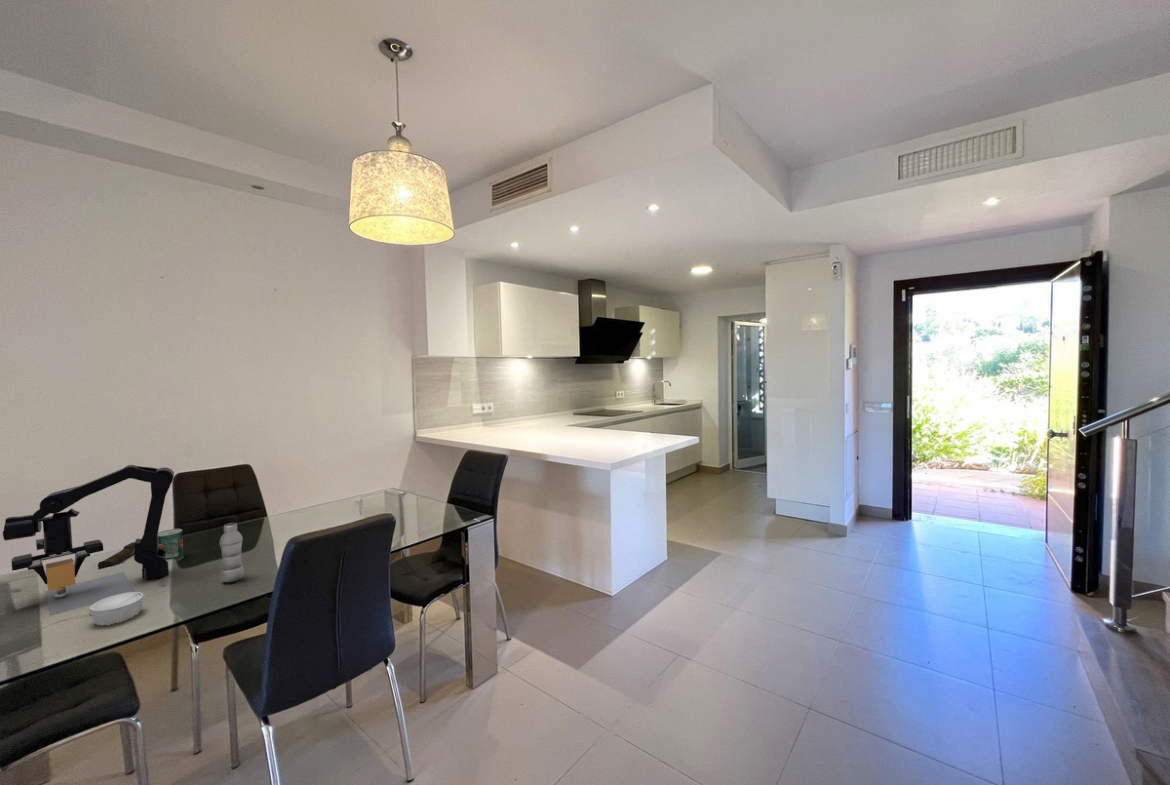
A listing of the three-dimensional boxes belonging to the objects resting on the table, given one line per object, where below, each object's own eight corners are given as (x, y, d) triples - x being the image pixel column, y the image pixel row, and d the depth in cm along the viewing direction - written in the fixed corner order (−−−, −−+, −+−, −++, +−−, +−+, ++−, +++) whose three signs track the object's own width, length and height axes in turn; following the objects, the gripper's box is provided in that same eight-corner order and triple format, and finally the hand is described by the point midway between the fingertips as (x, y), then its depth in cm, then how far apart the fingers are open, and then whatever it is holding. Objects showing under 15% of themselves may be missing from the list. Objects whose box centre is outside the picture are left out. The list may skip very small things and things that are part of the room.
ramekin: (146, 617, 134) (145, 599, 134) (90, 633, 126) (89, 615, 126) (142, 604, 142) (142, 587, 142) (90, 618, 133) (89, 601, 133)
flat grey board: (136, 595, 147) (135, 591, 147) (50, 620, 132) (50, 615, 132) (123, 575, 161) (123, 571, 161) (45, 595, 147) (45, 591, 147)
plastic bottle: (239, 574, 162) (236, 520, 161) (248, 579, 158) (245, 523, 157) (217, 581, 156) (214, 525, 155) (226, 586, 153) (223, 529, 152)
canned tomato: (150, 563, 172) (149, 535, 171) (172, 555, 179) (171, 528, 179) (167, 564, 170) (165, 536, 170) (189, 556, 178) (187, 529, 177)
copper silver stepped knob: (71, 594, 144) (70, 582, 144) (60, 599, 142) (59, 587, 141) (62, 594, 145) (62, 582, 144) (52, 599, 142) (51, 586, 142)
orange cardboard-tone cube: (75, 584, 144) (74, 562, 143) (48, 590, 139) (46, 568, 139) (73, 579, 147) (72, 558, 147) (46, 585, 142) (45, 564, 142)
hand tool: (110, 570, 166) (110, 558, 166) (97, 572, 165) (96, 559, 165) (145, 551, 184) (144, 540, 184) (133, 552, 183) (132, 541, 183)
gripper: (97, 519, 154) (100, 563, 155) (9, 535, 140) (13, 584, 140) (102, 526, 148) (104, 572, 148) (10, 543, 133) (13, 595, 134)
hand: (60, 580), depth 143 cm, fingers closed on orange cardboard-tone cube, 6 cm apart
